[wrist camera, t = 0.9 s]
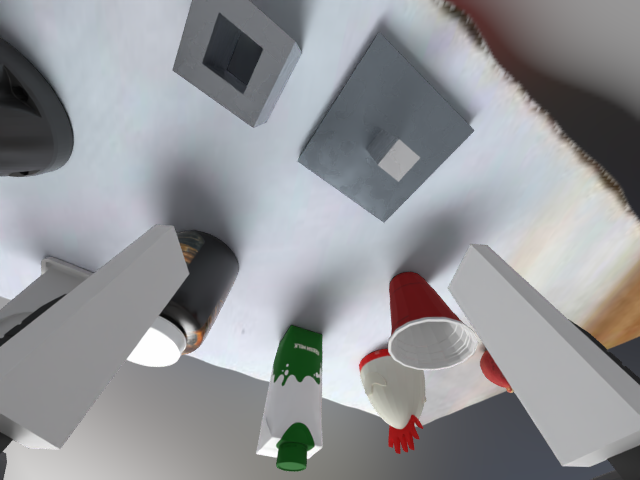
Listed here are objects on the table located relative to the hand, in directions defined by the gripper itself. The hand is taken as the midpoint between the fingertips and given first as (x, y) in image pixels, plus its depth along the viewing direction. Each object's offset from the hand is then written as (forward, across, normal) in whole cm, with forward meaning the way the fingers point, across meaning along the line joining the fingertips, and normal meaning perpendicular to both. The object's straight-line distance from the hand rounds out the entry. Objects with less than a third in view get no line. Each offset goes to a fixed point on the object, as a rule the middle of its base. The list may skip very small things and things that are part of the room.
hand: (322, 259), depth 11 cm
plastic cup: (+20, +16, -20) cm, 33 cm away
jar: (+21, -18, -18) cm, 33 cm away
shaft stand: (+21, +7, +2) cm, 22 cm away
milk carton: (+21, -2, -37) cm, 43 cm away
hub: (+21, -8, +8) cm, 24 cm away
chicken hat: (+20, +19, -45) cm, 53 cm away
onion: (+20, +38, -37) cm, 57 cm away
